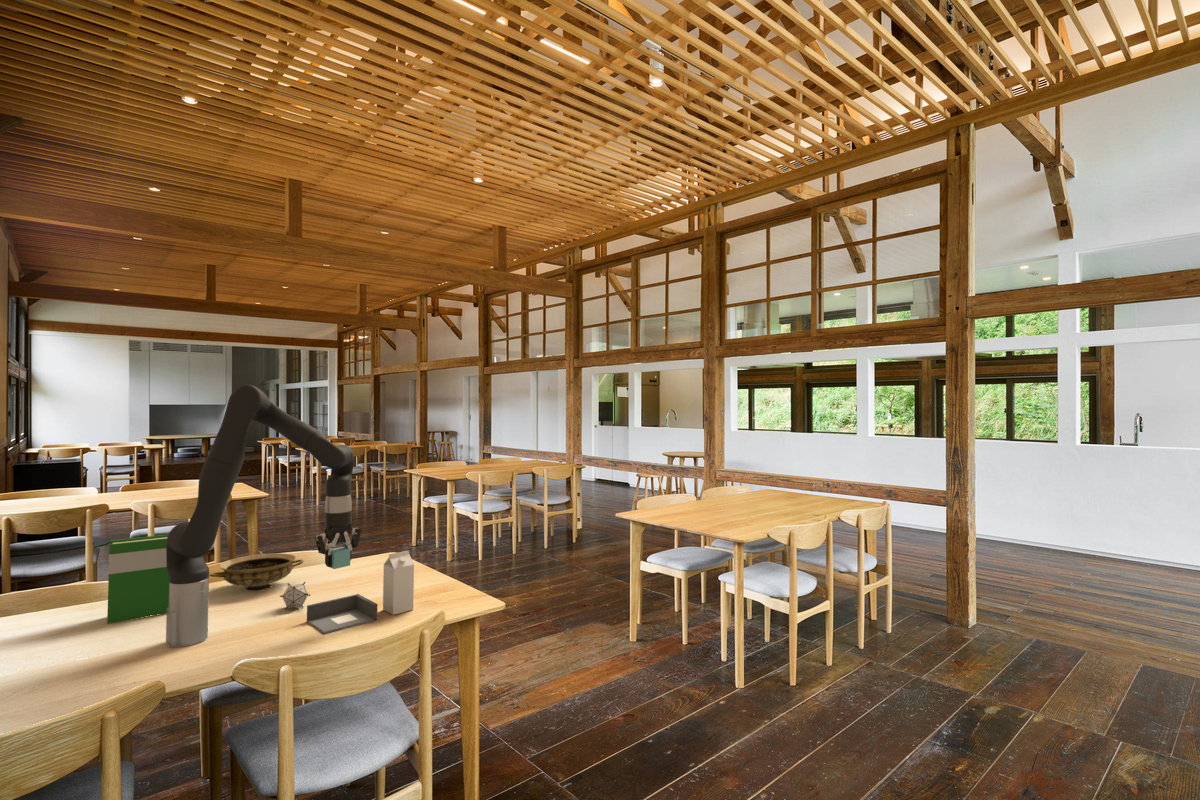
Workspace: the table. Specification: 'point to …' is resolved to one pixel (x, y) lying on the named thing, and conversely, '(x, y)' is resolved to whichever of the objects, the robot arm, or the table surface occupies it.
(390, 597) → the milk carton
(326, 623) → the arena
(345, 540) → the robot arm
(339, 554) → the cube
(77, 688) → the table surface
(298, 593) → the game die
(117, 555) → the hardback book
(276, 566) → the ceramic bowl
